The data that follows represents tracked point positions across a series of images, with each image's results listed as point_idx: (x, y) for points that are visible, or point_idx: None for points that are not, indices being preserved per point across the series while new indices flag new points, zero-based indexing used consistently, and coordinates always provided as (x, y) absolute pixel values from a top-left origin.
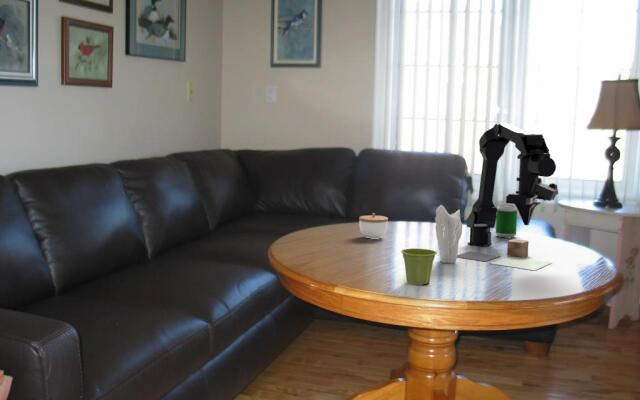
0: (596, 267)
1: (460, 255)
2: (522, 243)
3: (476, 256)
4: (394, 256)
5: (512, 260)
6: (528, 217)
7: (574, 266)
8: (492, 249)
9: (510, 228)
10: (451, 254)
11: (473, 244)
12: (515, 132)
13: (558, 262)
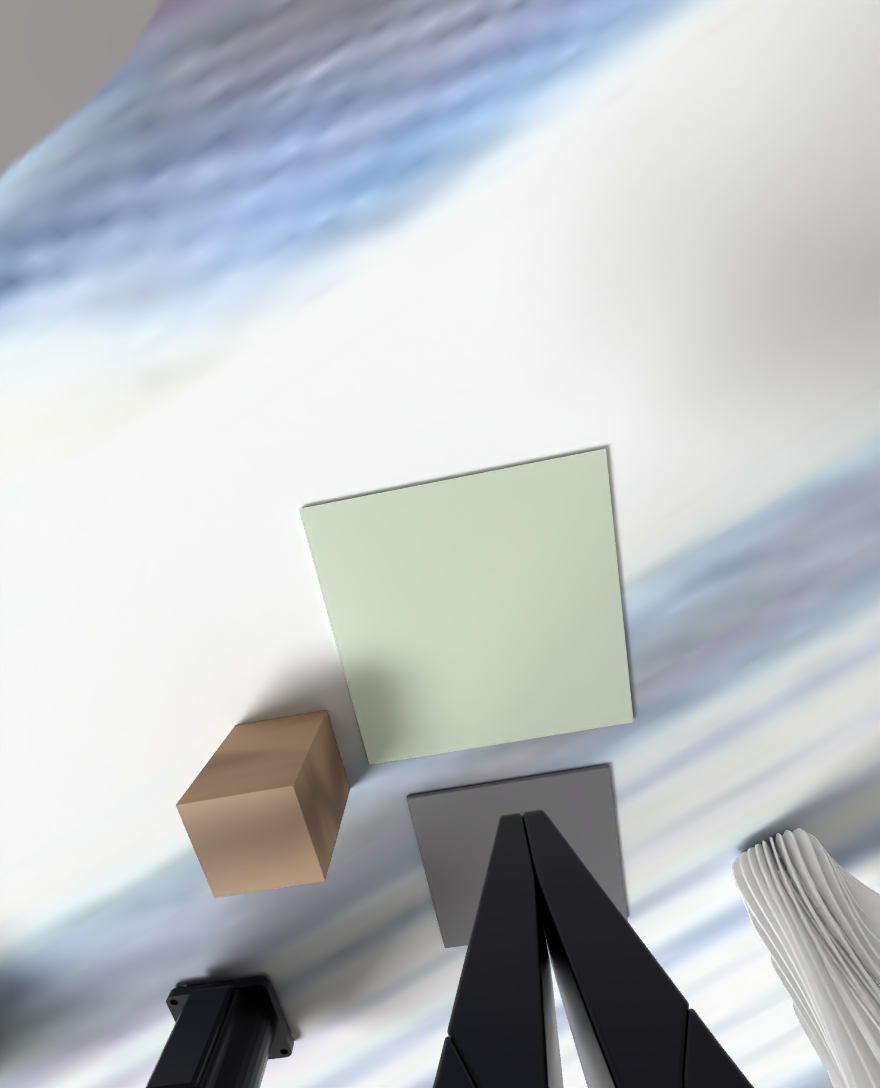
0: (124, 230)
1: None
2: (293, 782)
3: None
4: None
5: (457, 691)
6: (641, 942)
7: (244, 358)
8: (277, 917)
9: None
10: (850, 887)
11: (283, 1024)
12: None
13: (233, 500)
